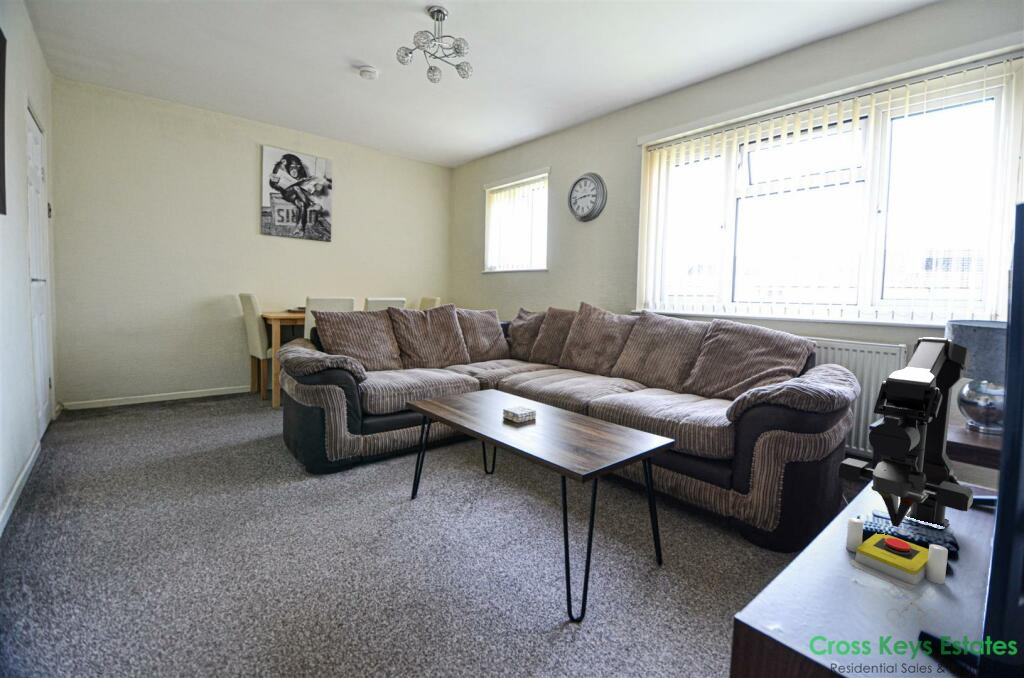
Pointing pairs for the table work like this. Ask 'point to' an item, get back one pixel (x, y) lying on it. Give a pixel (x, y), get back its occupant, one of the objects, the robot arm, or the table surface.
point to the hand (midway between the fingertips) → (895, 525)
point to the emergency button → (892, 560)
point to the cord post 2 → (937, 564)
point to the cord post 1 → (854, 534)
